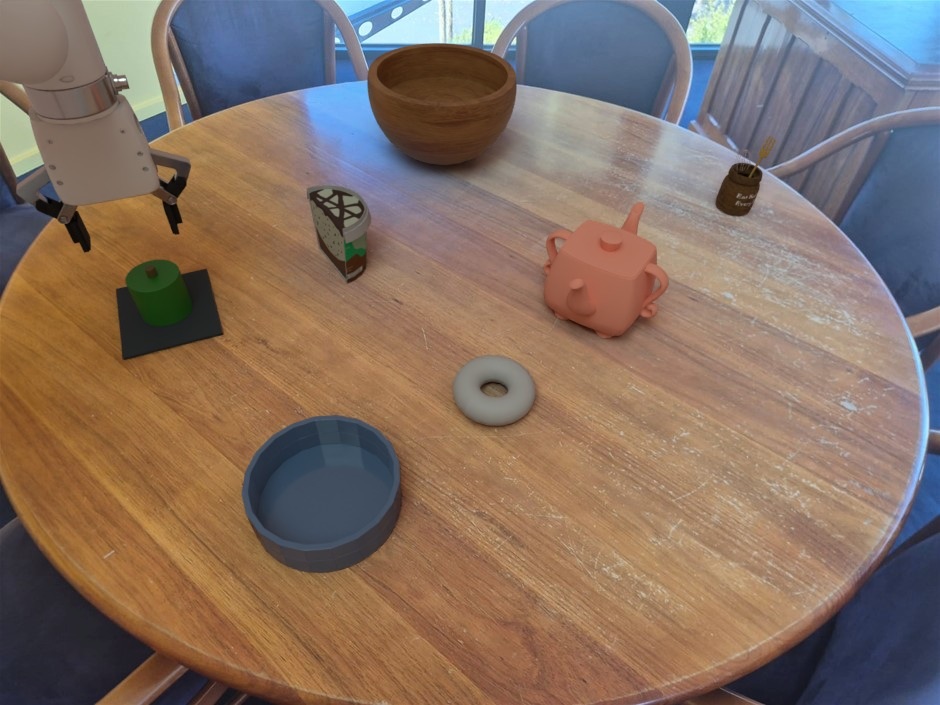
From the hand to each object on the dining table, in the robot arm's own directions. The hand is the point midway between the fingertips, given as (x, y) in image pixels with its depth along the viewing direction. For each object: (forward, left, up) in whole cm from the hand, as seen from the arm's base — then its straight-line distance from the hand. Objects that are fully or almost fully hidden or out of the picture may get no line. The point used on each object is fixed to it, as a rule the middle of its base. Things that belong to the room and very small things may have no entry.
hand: (132, 236), depth 74 cm
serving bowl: (+12, -36, -13) cm, 40 cm away
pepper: (0, 0, -12) cm, 12 cm away
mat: (0, 0, -13) cm, 13 cm away
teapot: (+54, -21, -13) cm, 60 cm away
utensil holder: (+90, -8, -13) cm, 92 cm away
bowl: (+50, +25, -13) cm, 58 cm away
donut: (+34, -30, -13) cm, 47 cm away
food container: (+26, +2, -13) cm, 29 cm away
